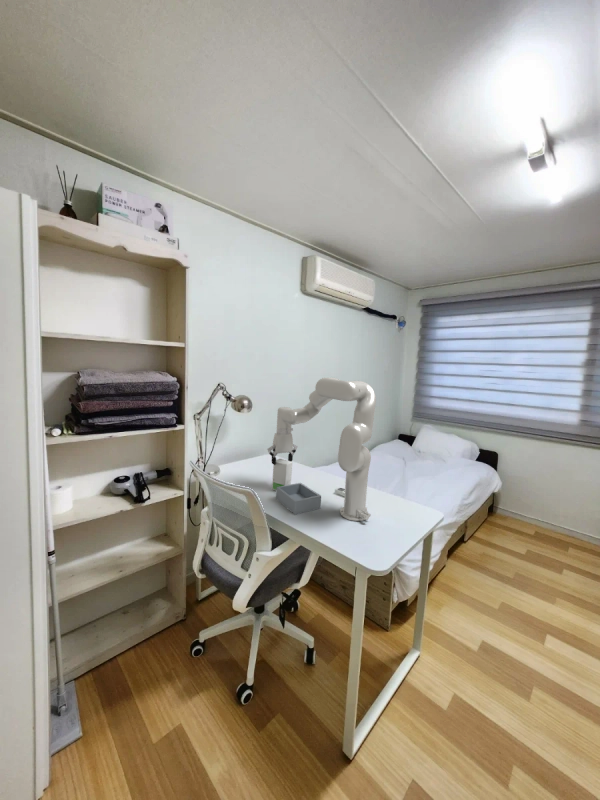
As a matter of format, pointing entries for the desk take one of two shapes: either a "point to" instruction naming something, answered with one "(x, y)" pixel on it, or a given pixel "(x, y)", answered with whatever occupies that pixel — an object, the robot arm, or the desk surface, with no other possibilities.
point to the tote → (298, 498)
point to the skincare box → (281, 473)
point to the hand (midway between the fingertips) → (282, 462)
